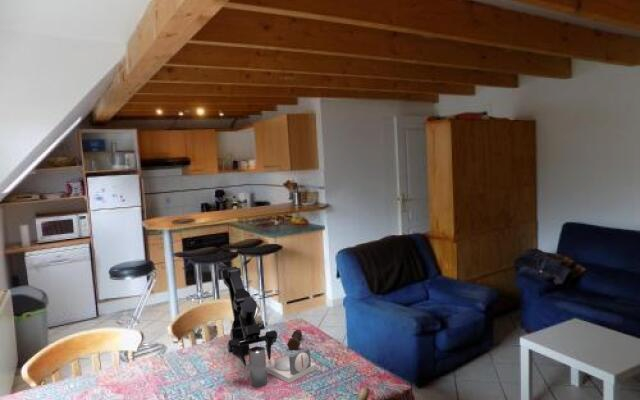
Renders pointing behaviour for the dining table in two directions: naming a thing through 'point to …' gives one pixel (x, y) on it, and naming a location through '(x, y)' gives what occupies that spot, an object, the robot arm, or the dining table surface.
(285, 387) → the dining table surface
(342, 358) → the dining table surface
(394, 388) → the dining table surface
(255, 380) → the cylinder
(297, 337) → the dark brown lobed figurine
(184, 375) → the dining table surface
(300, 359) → the dial scale
